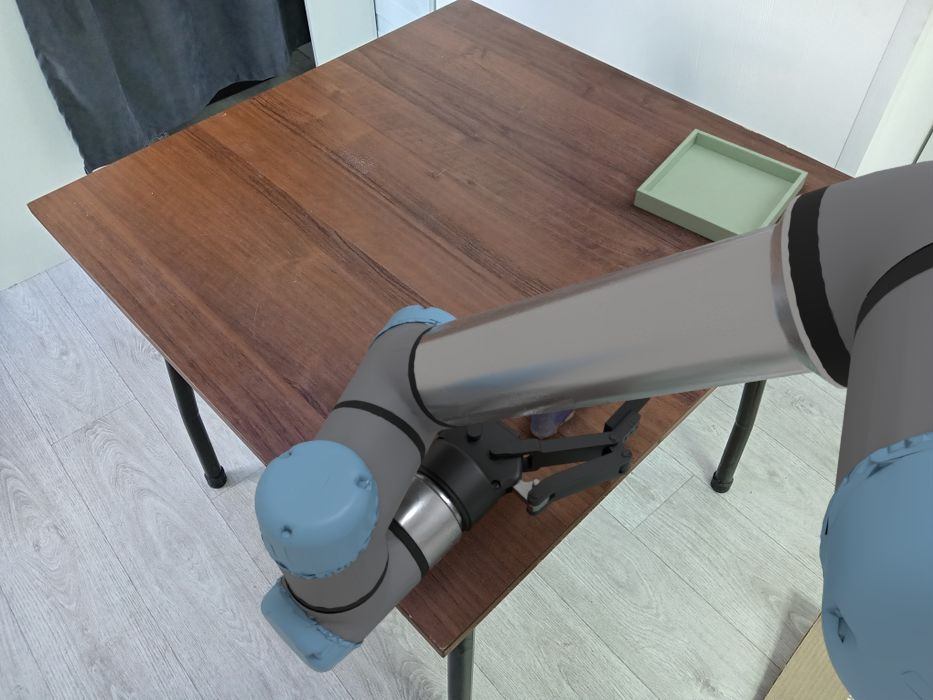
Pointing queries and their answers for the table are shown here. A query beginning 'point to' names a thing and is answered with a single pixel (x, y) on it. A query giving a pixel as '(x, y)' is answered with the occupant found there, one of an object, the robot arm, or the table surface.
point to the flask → (549, 422)
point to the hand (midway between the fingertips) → (589, 350)
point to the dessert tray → (719, 188)
